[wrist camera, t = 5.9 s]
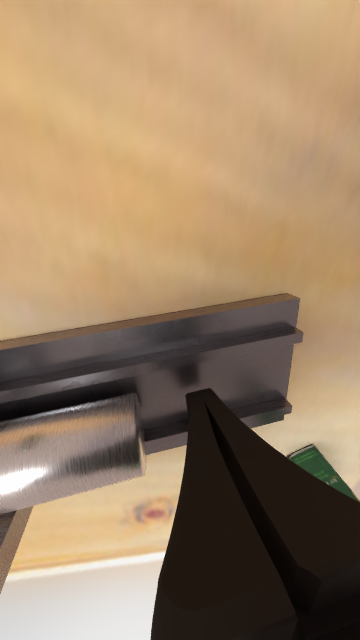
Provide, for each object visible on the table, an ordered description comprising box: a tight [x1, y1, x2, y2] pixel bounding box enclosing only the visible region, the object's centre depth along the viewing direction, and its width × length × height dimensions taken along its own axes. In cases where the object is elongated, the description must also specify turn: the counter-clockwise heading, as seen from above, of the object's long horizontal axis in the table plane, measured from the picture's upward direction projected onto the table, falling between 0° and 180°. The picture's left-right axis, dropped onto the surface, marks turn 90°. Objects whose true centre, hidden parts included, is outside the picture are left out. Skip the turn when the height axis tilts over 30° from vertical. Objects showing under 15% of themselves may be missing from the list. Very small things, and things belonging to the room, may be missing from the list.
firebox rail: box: [0, 293, 303, 593], centre depth 9 cm, size 25×9×6 cm, turn 96°
